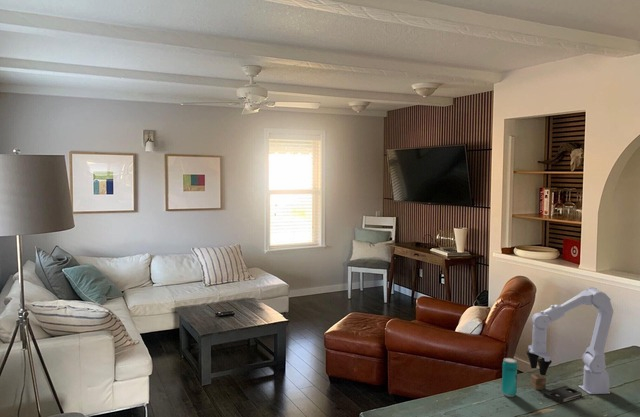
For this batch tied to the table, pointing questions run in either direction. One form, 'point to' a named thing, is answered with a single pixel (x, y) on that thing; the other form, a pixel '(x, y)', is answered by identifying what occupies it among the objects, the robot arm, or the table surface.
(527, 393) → the table surface
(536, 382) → the walnut block
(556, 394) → the vhs tape
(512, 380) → the beverage can
